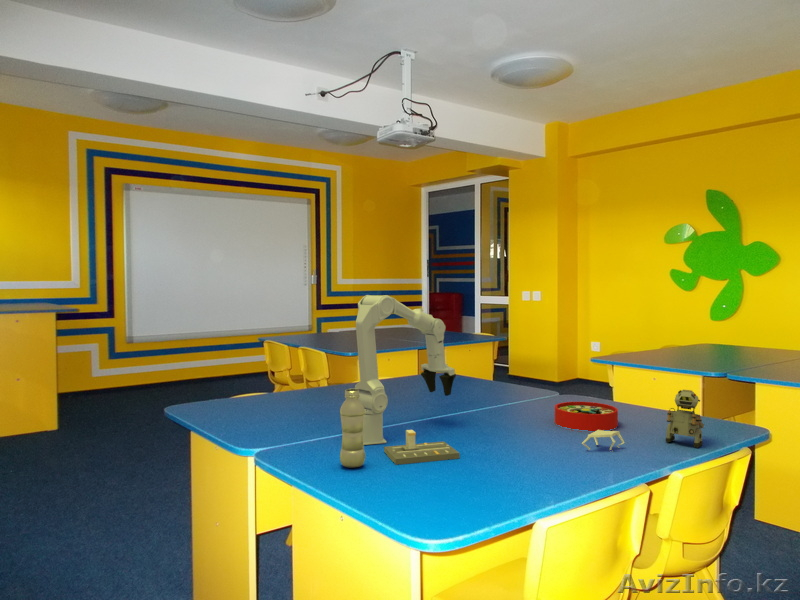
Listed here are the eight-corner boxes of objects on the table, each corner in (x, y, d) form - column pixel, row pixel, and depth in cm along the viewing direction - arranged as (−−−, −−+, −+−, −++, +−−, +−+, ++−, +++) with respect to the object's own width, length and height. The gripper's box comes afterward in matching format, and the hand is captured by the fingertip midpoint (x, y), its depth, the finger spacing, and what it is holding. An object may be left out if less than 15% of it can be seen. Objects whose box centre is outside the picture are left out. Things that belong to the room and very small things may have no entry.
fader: (405, 453, 155) (405, 433, 155) (402, 449, 159) (401, 430, 158) (419, 451, 156) (419, 432, 156) (415, 448, 160) (415, 429, 160)
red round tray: (542, 404, 197) (589, 399, 204) (542, 421, 197) (589, 416, 205) (581, 416, 178) (631, 411, 186) (581, 435, 179) (631, 429, 186)
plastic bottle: (352, 461, 154) (351, 386, 153) (370, 466, 149) (370, 389, 149) (334, 467, 149) (333, 390, 148) (353, 472, 144) (352, 393, 144)
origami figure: (601, 443, 170) (601, 426, 170) (626, 449, 163) (626, 432, 163) (574, 449, 163) (574, 432, 163) (598, 456, 156) (598, 438, 156)
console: (395, 464, 150) (395, 456, 150) (384, 452, 162) (383, 444, 162) (459, 458, 155) (459, 450, 155) (444, 446, 167) (443, 439, 167)
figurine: (708, 441, 170) (709, 391, 169) (696, 450, 161) (696, 396, 161) (676, 436, 176) (676, 387, 176) (662, 443, 168) (663, 392, 167)
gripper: (459, 353, 188) (463, 393, 190) (430, 349, 199) (434, 387, 201) (444, 358, 184) (448, 399, 185) (414, 353, 195) (419, 392, 196)
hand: (440, 393), depth 193 cm, fingers open, 7 cm apart
